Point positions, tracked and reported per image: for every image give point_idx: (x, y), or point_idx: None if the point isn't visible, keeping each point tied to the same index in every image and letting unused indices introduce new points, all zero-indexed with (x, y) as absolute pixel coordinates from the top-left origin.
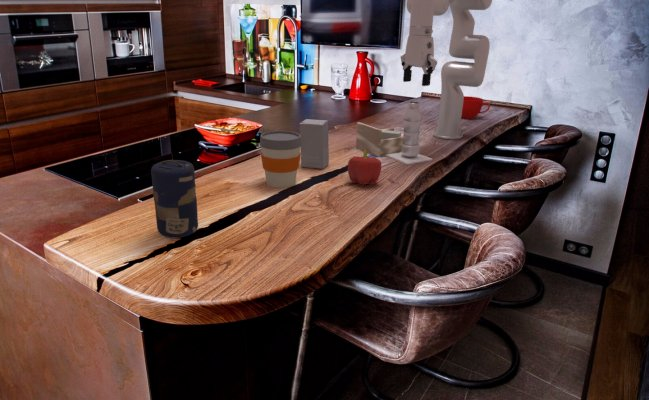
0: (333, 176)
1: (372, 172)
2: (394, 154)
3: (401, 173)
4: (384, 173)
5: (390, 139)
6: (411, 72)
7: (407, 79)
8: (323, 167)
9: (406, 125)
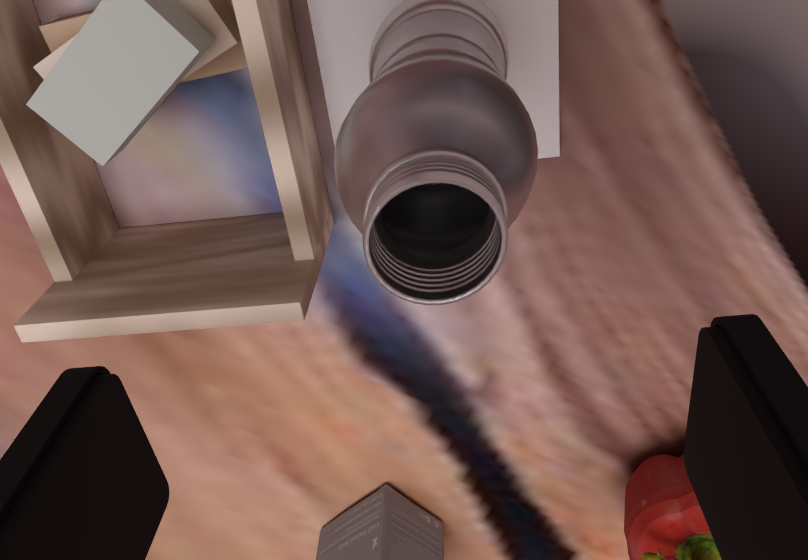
0: (541, 521)
1: None
2: None
3: (669, 270)
4: (620, 342)
5: (295, 175)
6: (15, 533)
7: (133, 474)
8: (440, 525)
9: (451, 209)
